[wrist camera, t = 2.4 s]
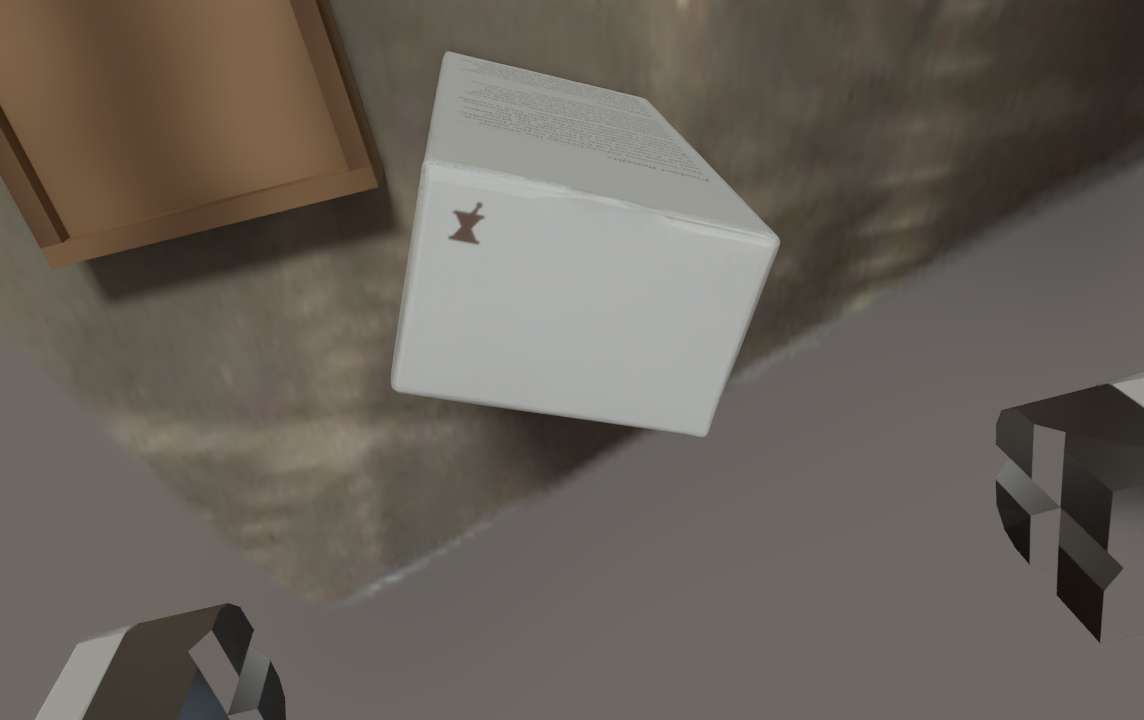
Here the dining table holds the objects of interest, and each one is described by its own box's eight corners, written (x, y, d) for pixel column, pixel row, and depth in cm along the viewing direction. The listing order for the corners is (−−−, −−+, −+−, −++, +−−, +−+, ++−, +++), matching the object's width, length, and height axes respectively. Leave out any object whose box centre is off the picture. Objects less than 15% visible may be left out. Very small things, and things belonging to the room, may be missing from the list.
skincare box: (419, 196, 25) (376, 395, 14) (444, 46, 23) (416, 149, 13) (616, 236, 26) (711, 448, 16) (655, 97, 24) (791, 230, 14)
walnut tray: (261, -200, 20) (244, -209, 19) (384, 171, 25) (378, 187, 23) (-108, -105, 21) (-155, -107, 19) (77, 247, 25) (51, 268, 23)
